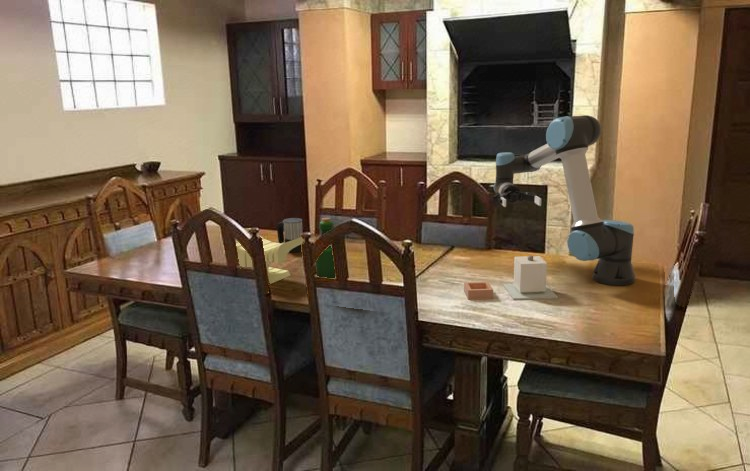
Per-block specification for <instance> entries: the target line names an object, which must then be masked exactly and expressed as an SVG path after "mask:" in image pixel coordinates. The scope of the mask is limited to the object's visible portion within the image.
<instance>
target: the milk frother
mask: <svg viewBox="0 0 750 471" xmlns="http://www.w3.org/2000/svg"><path fill="white" fill-rule="evenodd" d="M276 233H277V240H278V243H280V244H282V243H286V242H289V241H292V240H295V239H297V238H300V237H301V236H300V234H301V233H302V234H303V219H302V218H299V217H290V218H285V219H283V220H282V221H280V222H278V223H277V225H276ZM299 252H300V253H301V252H302V251H301V245H298V246H296V247H295V248H293V249H292V250H290V251H289V253H299Z"/></svg>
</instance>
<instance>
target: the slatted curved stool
mask: <svg viewBox="0 0 750 471" xmlns="http://www.w3.org/2000/svg"><path fill="white" fill-rule="evenodd" d="M247 229H251V228H250V227H249V228H247ZM259 236H260V237H261V238H262V241H263V248H264V255H265V261H266V266H267V271H268V276H269V281H270V284H269V285H272V284H273V283H276V282H278V281H281V280H283V279H286V278H288V277H291V274H290V271H289V270H287V269H286V270H285V269H282V268H281V269H280V268H276V267H275V268H274V267H271V266H270V265H271V263H274V264H275V265H281V264H284V263H286V262H287V256H288V255H289V253H290V252H289V251H290V250H292V249H293V248H295V247H296V246H298V245H301V244H302V242H303V239H302V237H300V238H297V239H295V240H292V241H289V242H286V243H285V242H283V243H279V242H273V241H271V240H268V239H266V238H264V237H263V236H261V235H259ZM221 245H222V246H221V247H222V254H223V255H225V250H224V245H223V241H222V244H221ZM236 246H237V252H238V258H237V260H238V259H239V262H238V264H240V265H239V267H240V266H242V267H252V260H251V257H250V256H249V254H248V253H247V251H246V250H245V249H244V248H243V247H242V246H241V244H240V243H239V242H238V241H236Z"/></svg>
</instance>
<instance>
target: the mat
mask: <svg viewBox="0 0 750 471" xmlns="http://www.w3.org/2000/svg"><path fill="white" fill-rule="evenodd" d="M502 286H503V288H504V290H506V292H507V293H508V294H509V296H510V298H511V299H512V300H513V301H520V300H523V301H524V300H548V299H550V300H551V299H555V300H556V299H559V298H558V295H556V293H555V292H554V291H553V290H552V289H551V288H550V287H549V286H548V284H546V291H539V292H535V293H523V292H519V290H518V289H517V288H516V286H515V285H514V282H513V283H502Z"/></svg>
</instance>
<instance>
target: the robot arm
mask: <svg viewBox="0 0 750 471" xmlns="http://www.w3.org/2000/svg"><path fill="white" fill-rule="evenodd" d="M545 132H546V133H545V139H546V144H544V145H541V146H540V147H538V148H536V149H534V150H532V151H531V152H528V153H527V154H524V155H523V154H522V155H515V154H514V153H513V152H509V151H508V152H499V153H497V154H496V158H495V160H496V161H495V182H494V184H493V190H494V193H495V194H494V195H493V196H492V197H491V198H492V199H491V200H492V204H496V205H497V206H500V205H502V206H503V207H504V208H506V207H507V203H508V204H514V203H517V202H518V201H519V202H524V201H525V202H526V201H528V202H534V204H535V205H537V206H539V207H541V206H542V202H544V195H543V194H539V193H534V192H530V191H526V192H523V191H521V190H520V188H519V187H518V186H516V185H515V184H514V175H515V174H522V173H523V174H524V173H525V174H526V173H533V172H537V171H539V170H540V169H541V167H543V166H544V165H547V164H549V163H550V162H553V161H555V160H557V159H560V160H561V163H562V167H563V168H562V169H563V174H564V178H565V183H566V188H567V189H566V190H567V193H568V199H569V202H570V209H571V213H572V219H573V223H572V225H570V230H571V232H570V233H569V235H568V238H567V239H566V243H567V244H566V245H567V248H568V251H569V252H570V254H571V255H572V256H573V257H574V258H575V259H576V260H578V261H582V262H588V261H595V260H597V259H598V260H597V263H596V264H595V267H594V269H593V272H592V279H593V280H594V281H595V282H597V283H600V284H603V285H608V286H609V285H610V286H628V285H633V284H634V283H635V282H634V281H636V280H635V278H636V274H635V272H634V271H635V270H634V267H633V263H632V257H633V256H632V255H633V245H634V244H633V243H634V236H635V233H634V232H635V228H634V225H633V224H632V223H630V222H627V221H622V220H613V219H601V218H600V217H599V215H598V212H597V205H596V200H595V196H594V191H593V186H592V181H591V177H590V171H589V167H588V161H587V157H586V153H587V152H588V150H589V147H590V146H593V145H594V144H595V143H597V142H598V141H599V140H600V138H601V136H602V132H603V131H602V125H601V123H600V121H599V120H598V119H597V118H596V117H594V116H591V115H585V114H582V115H568V116H567V115H566V116H560V117H556V118H554V119H553V120H552V121H551V122H550V123H549V124H548V127H547V129H546V131H545Z"/></svg>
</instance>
